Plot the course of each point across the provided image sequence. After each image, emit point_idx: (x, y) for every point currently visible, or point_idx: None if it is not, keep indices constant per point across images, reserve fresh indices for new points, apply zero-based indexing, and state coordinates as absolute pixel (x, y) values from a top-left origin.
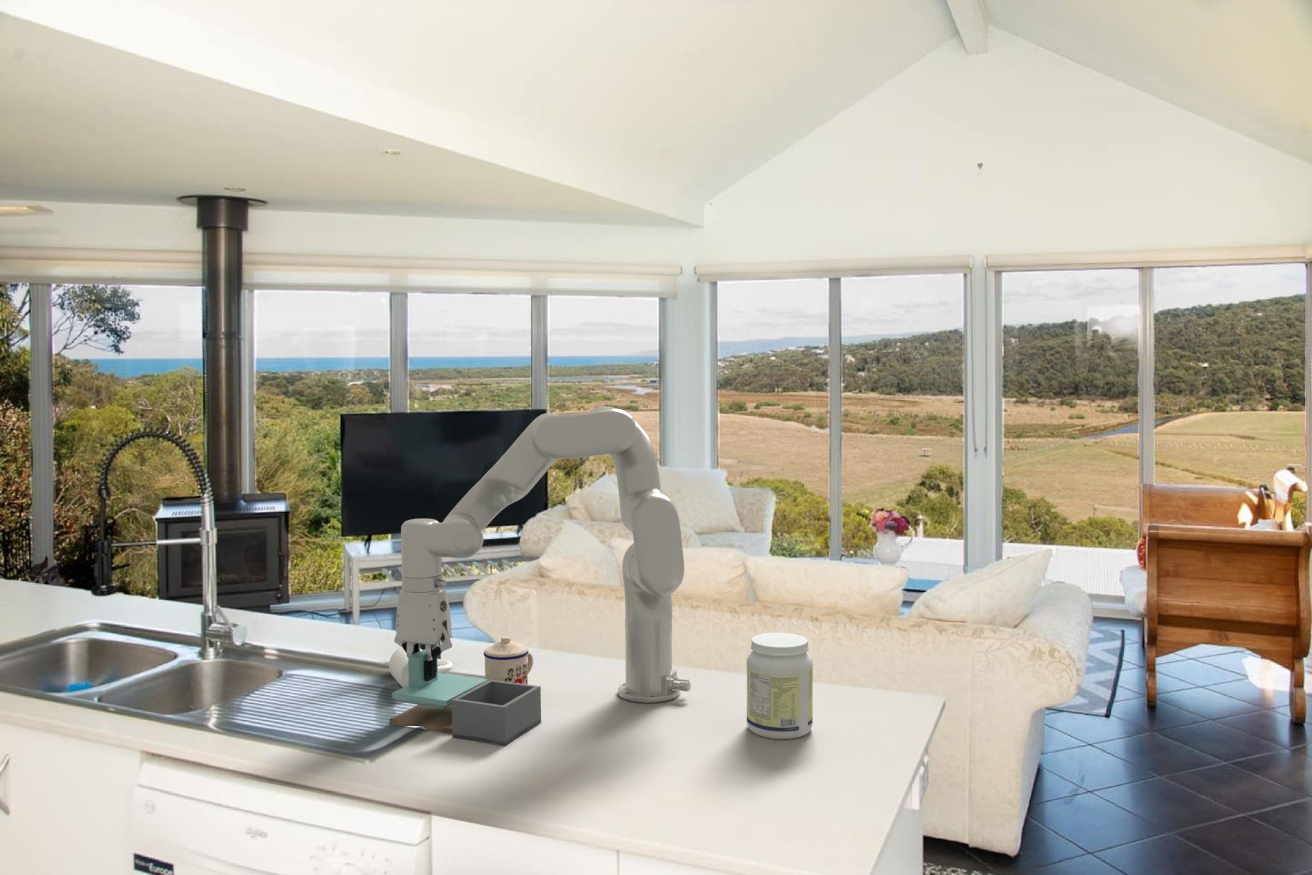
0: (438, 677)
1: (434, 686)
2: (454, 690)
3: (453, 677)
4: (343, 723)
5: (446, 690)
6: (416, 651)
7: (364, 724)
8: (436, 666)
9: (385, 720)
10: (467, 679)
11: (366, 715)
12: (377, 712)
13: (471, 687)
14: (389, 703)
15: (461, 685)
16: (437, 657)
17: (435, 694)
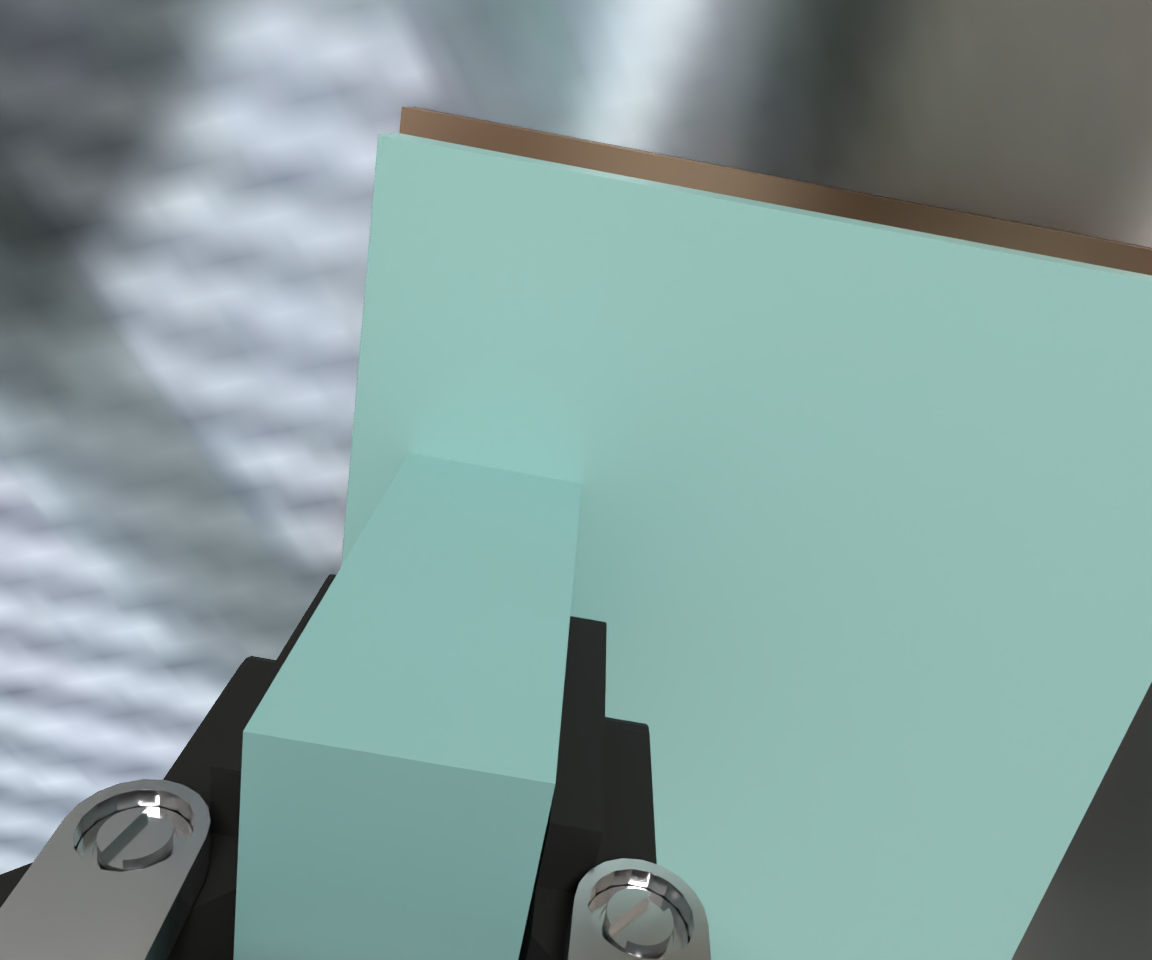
0: (540, 372)
1: (657, 723)
2: (951, 803)
3: (763, 324)
4: (13, 757)
5: (855, 817)
6: (168, 956)
7: (173, 751)
8: (649, 794)
9: (270, 657)
10: (1008, 373)
11: (48, 583)
12: (83, 503)
13: (1141, 673)
14: (13, 251)
15: (988, 629)
16: (669, 899)
17: (778, 938)
